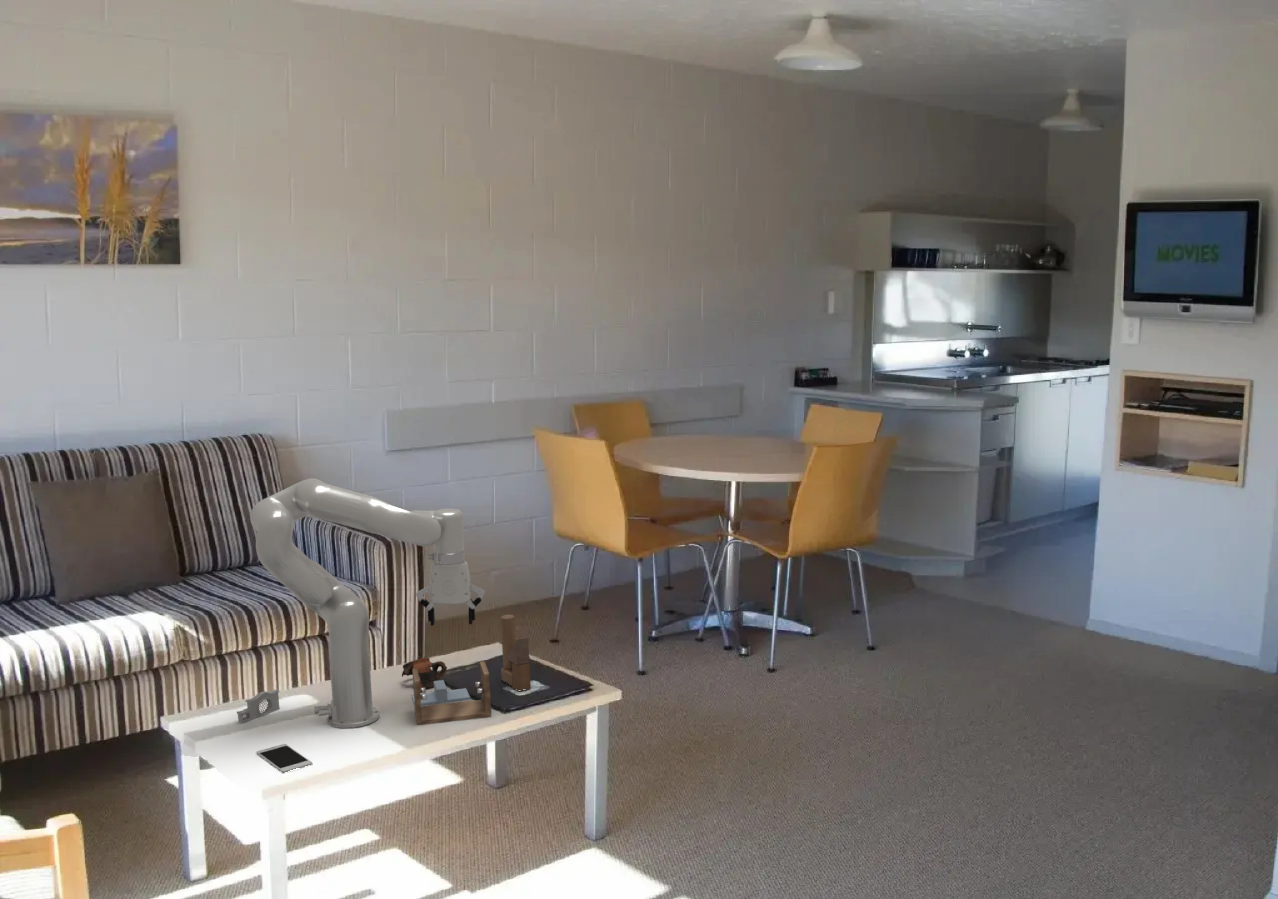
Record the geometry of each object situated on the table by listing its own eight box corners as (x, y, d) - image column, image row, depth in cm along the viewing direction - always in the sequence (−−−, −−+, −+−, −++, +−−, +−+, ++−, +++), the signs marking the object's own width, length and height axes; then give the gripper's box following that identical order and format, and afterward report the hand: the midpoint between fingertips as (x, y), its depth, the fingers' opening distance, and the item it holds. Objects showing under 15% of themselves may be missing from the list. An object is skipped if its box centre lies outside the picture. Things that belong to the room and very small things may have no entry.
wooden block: (518, 692, 317) (515, 625, 314) (501, 681, 326) (497, 615, 323) (531, 689, 319) (528, 622, 316) (513, 678, 328) (510, 613, 325)
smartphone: (283, 775, 270) (282, 771, 270) (255, 755, 282) (255, 751, 282) (313, 766, 274) (313, 762, 274) (285, 747, 286) (285, 743, 286)
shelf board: (415, 708, 309) (414, 692, 308) (412, 699, 315) (411, 684, 315) (470, 701, 312) (469, 685, 312) (466, 692, 319) (465, 677, 318)
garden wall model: (241, 724, 300) (239, 701, 299) (236, 723, 301) (234, 700, 300) (281, 709, 310) (279, 687, 309) (276, 708, 311) (275, 685, 310)
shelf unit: (417, 725, 296) (414, 681, 294) (414, 710, 305) (412, 668, 304) (491, 716, 300) (489, 673, 298) (486, 702, 310) (484, 661, 308)
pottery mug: (404, 694, 319) (396, 664, 321) (411, 698, 328) (403, 669, 330) (448, 680, 320) (440, 650, 322) (454, 684, 329) (445, 655, 331)
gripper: (413, 562, 304) (415, 629, 306) (482, 560, 305) (485, 626, 307) (416, 555, 311) (419, 620, 313) (484, 553, 312) (486, 618, 314)
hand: (451, 623), depth 310 cm, fingers open, 9 cm apart
